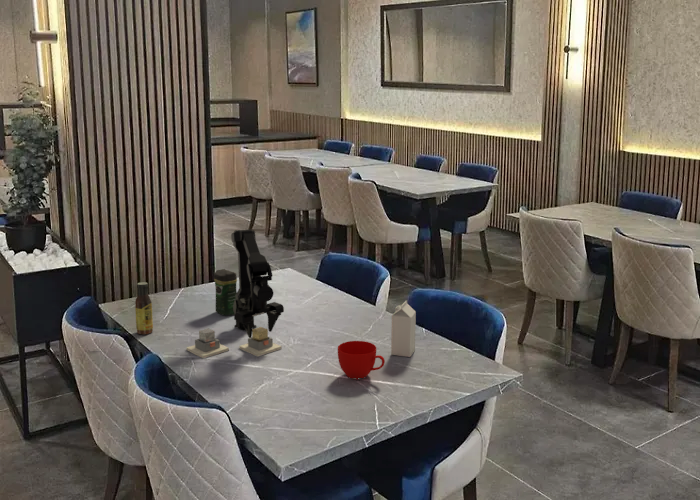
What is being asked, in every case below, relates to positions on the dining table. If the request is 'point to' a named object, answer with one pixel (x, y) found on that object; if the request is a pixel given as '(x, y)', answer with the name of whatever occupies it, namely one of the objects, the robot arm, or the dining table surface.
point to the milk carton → (403, 331)
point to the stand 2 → (260, 346)
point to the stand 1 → (207, 348)
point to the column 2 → (260, 334)
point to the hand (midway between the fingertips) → (260, 334)
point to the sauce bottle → (143, 310)
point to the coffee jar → (225, 291)
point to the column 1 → (207, 335)
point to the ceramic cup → (358, 358)
